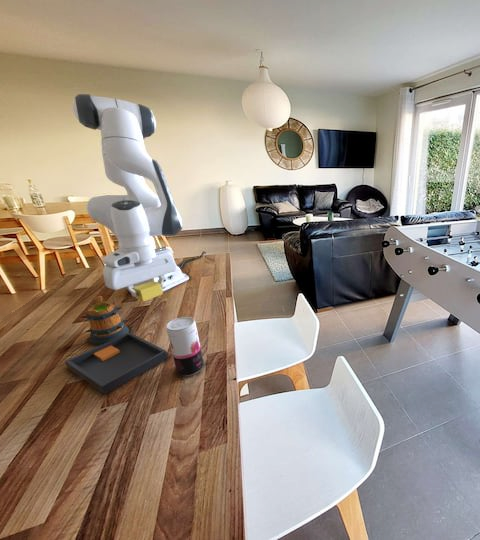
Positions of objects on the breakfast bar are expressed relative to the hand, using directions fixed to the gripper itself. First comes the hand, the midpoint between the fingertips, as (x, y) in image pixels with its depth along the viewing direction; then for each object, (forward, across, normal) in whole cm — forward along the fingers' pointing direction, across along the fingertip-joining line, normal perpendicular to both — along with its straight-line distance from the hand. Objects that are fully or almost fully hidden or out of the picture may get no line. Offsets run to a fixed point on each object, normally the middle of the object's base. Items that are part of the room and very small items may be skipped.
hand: (148, 291), depth 97 cm
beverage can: (+12, +10, +33) cm, 36 cm away
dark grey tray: (+12, +18, +14) cm, 25 cm away
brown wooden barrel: (+12, +12, -4) cm, 17 cm away
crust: (+11, +18, +8) cm, 22 cm away
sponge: (+2, 0, 0) cm, 2 cm away
